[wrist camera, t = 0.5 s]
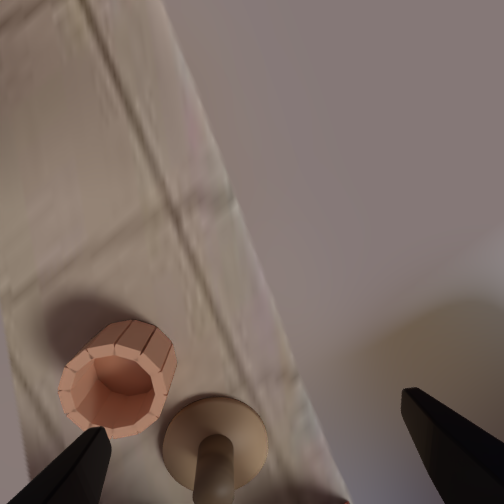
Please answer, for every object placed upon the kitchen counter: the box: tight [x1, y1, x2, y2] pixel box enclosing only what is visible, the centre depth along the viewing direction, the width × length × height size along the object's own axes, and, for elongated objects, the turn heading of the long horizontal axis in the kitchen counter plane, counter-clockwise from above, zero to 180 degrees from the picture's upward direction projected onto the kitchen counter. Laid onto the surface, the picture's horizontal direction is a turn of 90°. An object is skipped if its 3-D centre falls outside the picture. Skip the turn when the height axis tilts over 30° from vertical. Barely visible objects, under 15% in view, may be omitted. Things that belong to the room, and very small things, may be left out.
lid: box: [162, 397, 268, 504], centre depth 24 cm, size 9×9×5 cm
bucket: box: [58, 319, 177, 439], centre depth 22 cm, size 7×7×4 cm
